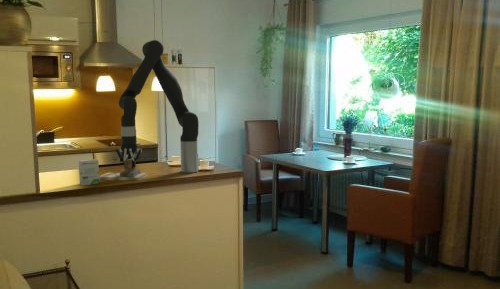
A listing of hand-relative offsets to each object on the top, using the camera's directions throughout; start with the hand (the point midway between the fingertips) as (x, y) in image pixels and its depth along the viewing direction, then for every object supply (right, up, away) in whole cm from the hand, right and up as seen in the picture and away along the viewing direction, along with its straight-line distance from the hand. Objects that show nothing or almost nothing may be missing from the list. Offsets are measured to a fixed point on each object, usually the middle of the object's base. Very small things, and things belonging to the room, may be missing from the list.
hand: (129, 168), depth 233 cm
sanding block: (0, -4, 0) cm, 4 cm away
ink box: (-16, -7, -14) cm, 22 cm away
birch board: (-4, -5, +1) cm, 7 cm away
